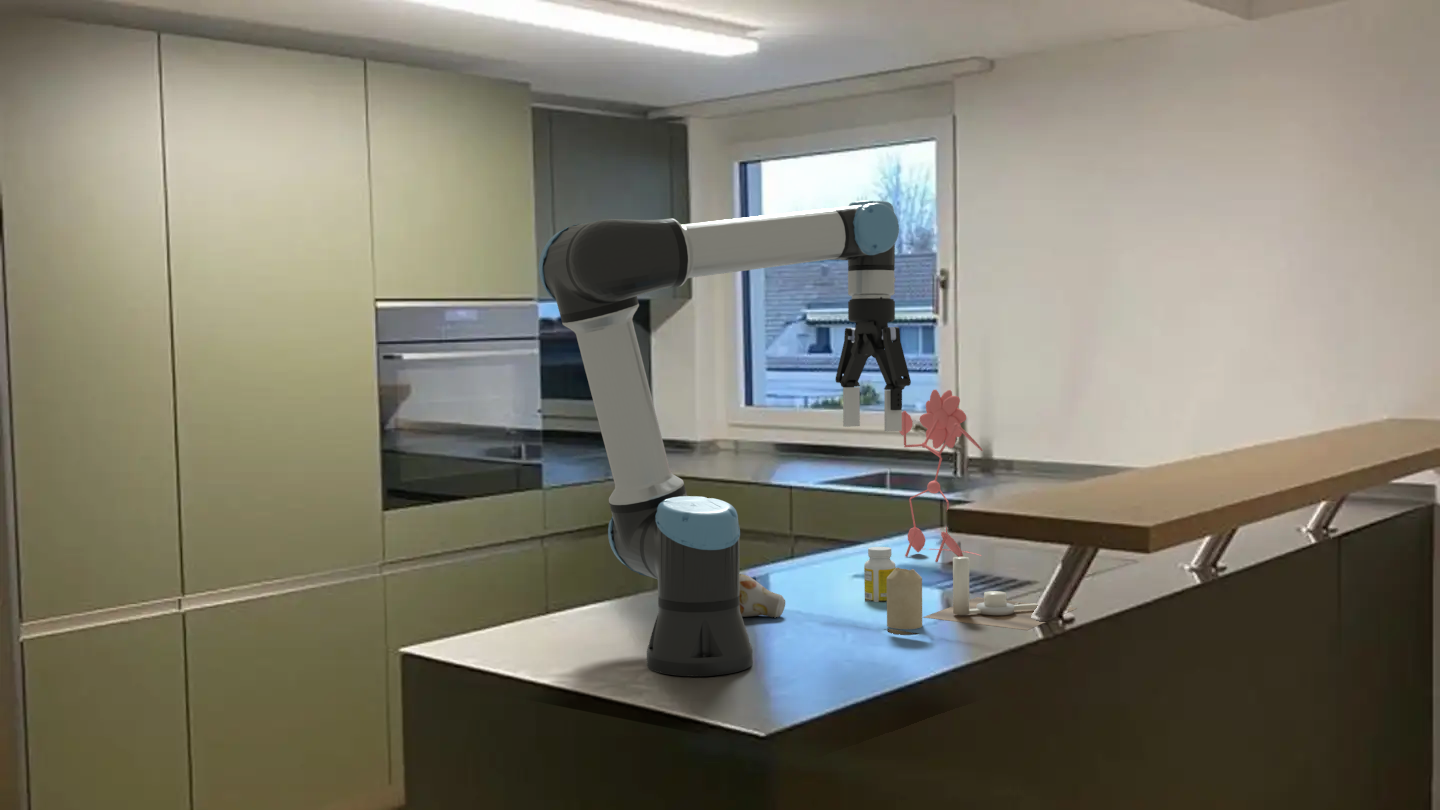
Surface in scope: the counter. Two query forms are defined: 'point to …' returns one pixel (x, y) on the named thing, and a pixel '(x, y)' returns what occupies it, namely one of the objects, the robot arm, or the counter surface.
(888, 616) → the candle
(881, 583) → the supplement bottle
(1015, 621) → the board
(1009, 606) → the handle
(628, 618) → the counter surface
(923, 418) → the figurine
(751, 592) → the mug
